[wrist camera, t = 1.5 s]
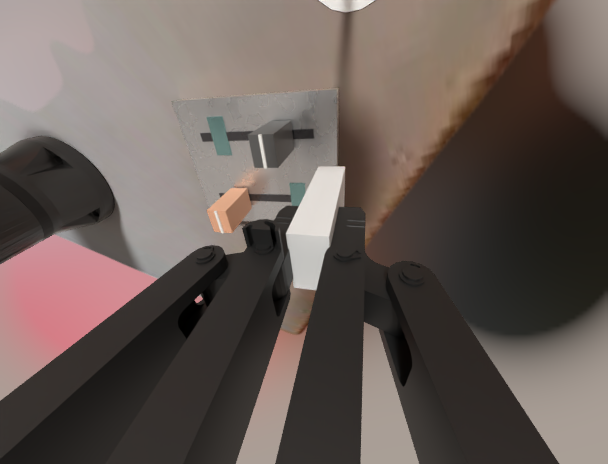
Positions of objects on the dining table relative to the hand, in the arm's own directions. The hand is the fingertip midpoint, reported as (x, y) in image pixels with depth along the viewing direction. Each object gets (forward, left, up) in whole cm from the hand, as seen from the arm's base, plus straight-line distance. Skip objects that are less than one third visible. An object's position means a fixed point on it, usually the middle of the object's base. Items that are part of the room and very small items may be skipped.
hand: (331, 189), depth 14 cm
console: (-11, -4, -16) cm, 20 cm away
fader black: (-7, 0, -14) cm, 15 cm away
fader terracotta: (-14, -8, -14) cm, 21 cm away
